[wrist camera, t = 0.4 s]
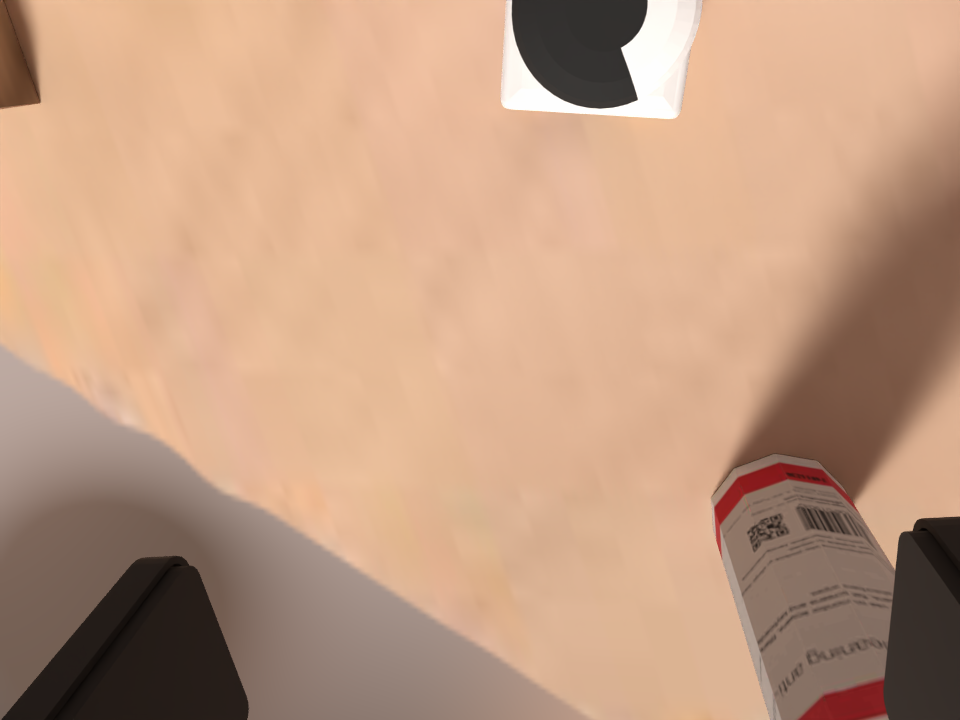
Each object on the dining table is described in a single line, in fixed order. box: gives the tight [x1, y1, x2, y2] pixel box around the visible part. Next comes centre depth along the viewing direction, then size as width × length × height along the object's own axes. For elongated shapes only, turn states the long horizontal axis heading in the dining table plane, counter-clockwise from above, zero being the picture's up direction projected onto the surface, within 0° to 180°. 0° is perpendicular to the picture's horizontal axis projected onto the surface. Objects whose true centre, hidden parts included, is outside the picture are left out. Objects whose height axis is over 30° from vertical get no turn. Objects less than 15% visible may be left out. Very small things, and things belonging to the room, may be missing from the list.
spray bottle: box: [711, 454, 895, 720], centre depth 31 cm, size 8×8×25 cm
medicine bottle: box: [501, 0, 702, 119], centre depth 27 cm, size 7×7×12 cm
